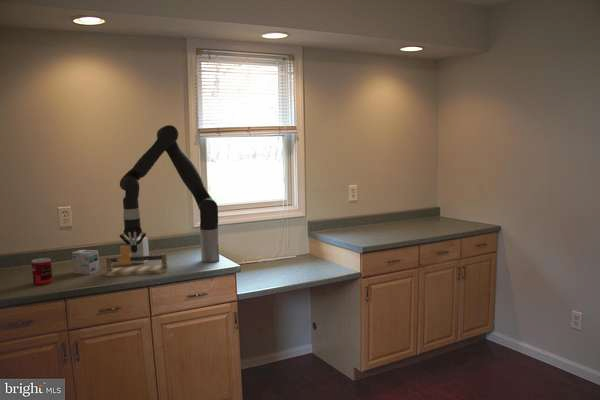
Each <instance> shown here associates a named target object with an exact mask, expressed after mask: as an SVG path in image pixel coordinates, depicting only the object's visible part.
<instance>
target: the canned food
mask: <svg viewBox="0 0 600 400" xmlns="http://www.w3.org/2000/svg"><path fill="white" fill-rule="evenodd" d="M52 268H53V267H52V259H51V258H50V257H40V258H36V259H35V258H34V259H32V260H31V270H32V281H33V282H32V283H33V284H34V285H35V286H45V285H46V284H47V285H50V284H52V283H53V280H54V279H53V269H52Z"/></svg>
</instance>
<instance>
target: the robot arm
mask: <svg viewBox="0 0 600 400" xmlns="http://www.w3.org/2000/svg"><path fill="white" fill-rule="evenodd" d="M179 135H180V134H179V130H178V129H177V127H175V126H174V125H170V124H168V125H164V126H163V127H161V128H159V129H158V130H157V132H156V140H155V141H154V143H153V144H152V145H151V146H150V147H149V149H147V150H146V151H145V152H144V153H143V155H142V156H141V157H140V158H139V159H138V160H137V162H136V163H135V164H134V165H133V166H132V168H131V169H130V170H128V171H127V172H126V173H125V174H124V175H123V176H122V177H121V178H120V181H119V187H120V189H121V190H123V191H125V193H124V197H123V199H122V207H123V213H122V214H123V215H122V217H123V225H124V227H123V228H124V229H123V232H122V233H121V234H119V237H120V239H121V240H122V241H123V242H124V244H126V246H130V245H131V252H133V253H136V252H137V250H138V248H137V244H140V243H141V241H142V240H143V238H144V237H146V236H147V232H144V231H143V229H142V227H141V225H142V224H141V214H140V213H141V212H140V208H139V207H140V205H139V197H140V196H139V195H140V183H139V180H141V178H142V179H143V178H144V177H146V175H147V174H148V173H149V171H150V170H152V169H153V166H154V165H155V164H156V163H157V161H158V160H159V158H161V156H162V155H163V154H164V153H165V152H166V154H167V155H168V156H169V158H170V160H171V163H172V165H173V166H174V168H175V170H176V172H177V174H178V175H179V177H180V179H181V180H182V182H183V183H184V185H185V186H186V188H187V189H188V190H189V192H190V193H191V194H192V196H193V198H194V200H195V202H196V205H197V207H198V209H199V216H200V217H199V218H200V221H199V232H200V233H199V235H200V252H201V253H200V255H201V262H202V263H216V262H220V245H219V207H218V204H217V202H216V201H215V199H213V198H212V196H211V195H210V193H209V192H208V190H207V189H206V187H205V184H204V182H203V180H202V177H201V175H200V172H199V170H198V169H197V167H196V165H195V163H194V162H193V160H191V159H190V157H189V156H188V155H187V154H186V153H185V152H184V151H183V150H182V148H181V147H180V145H179V143H178V141H177V140H178V139H179ZM140 236H141V238H140ZM127 238H128V239H127ZM133 238H134V242H133ZM138 238H140V240H139V241H137V239H138Z"/></svg>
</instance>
